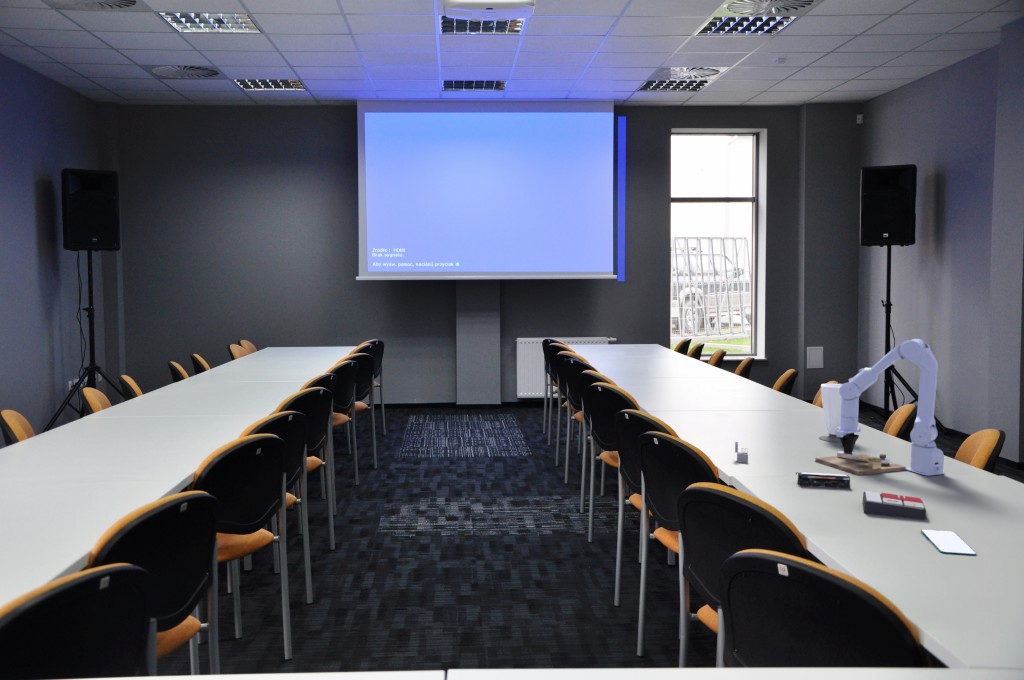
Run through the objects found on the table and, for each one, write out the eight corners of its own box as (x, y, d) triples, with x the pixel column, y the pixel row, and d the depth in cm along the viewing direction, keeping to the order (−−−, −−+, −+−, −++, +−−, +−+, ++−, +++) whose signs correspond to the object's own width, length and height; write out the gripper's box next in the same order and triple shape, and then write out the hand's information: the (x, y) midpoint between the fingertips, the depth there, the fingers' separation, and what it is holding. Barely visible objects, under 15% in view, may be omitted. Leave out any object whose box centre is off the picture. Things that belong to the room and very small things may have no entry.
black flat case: (785, 480, 250) (785, 467, 250) (869, 485, 245) (869, 471, 245) (791, 492, 236) (792, 478, 236) (880, 498, 231) (881, 483, 231)
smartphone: (977, 558, 182) (953, 534, 197) (978, 554, 182) (953, 531, 197) (940, 555, 183) (919, 532, 199) (940, 551, 183) (919, 528, 199)
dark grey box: (926, 507, 208) (865, 498, 214) (925, 523, 208) (863, 514, 214) (922, 497, 218) (863, 488, 224) (920, 512, 219) (862, 503, 224)
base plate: (905, 470, 262) (906, 457, 261) (857, 475, 255) (858, 461, 255) (860, 457, 280) (861, 444, 280) (815, 461, 274) (815, 448, 274)
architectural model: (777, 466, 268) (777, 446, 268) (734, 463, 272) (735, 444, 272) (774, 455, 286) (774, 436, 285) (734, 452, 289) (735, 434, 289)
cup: (820, 441, 307) (822, 386, 305) (816, 435, 318) (818, 382, 316) (852, 443, 304) (854, 387, 302) (846, 437, 315) (849, 384, 314)
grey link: (891, 463, 264) (892, 459, 264) (886, 465, 262) (886, 461, 261) (841, 454, 277) (842, 450, 277) (836, 456, 274) (836, 452, 274)
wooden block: (881, 468, 259) (881, 458, 258) (872, 469, 258) (873, 459, 257) (865, 463, 265) (865, 454, 265) (856, 464, 264) (857, 454, 264)
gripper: (847, 412, 282) (846, 449, 283) (828, 417, 273) (827, 455, 274) (867, 415, 277) (865, 453, 278) (848, 420, 267) (846, 459, 268)
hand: (847, 454), depth 276 cm, fingers closed
